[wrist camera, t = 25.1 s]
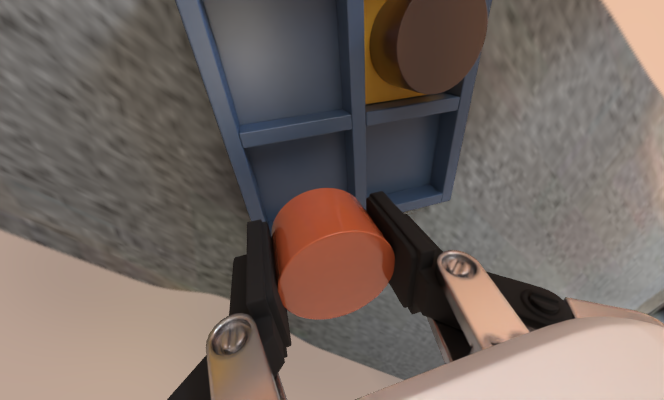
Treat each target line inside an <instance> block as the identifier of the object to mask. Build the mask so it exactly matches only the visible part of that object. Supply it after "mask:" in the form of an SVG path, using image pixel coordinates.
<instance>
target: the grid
mask: <svg viewBox="0 0 664 400" xmlns="http://www.w3.org/2000/svg"><path fill="white" fill-rule="evenodd" d="M386 1H387V0H175V2H176V5H177V7H178V10H179V13H180V16H181V19H182V22H183V25H184V28H185V31H186V34H187V36H188V39H189V42H190V45H191V48H192V51H193V54H194V57H195V60H196V63H197V66H198V68H199V71H200V74H201V77H202V80H203V83H204V86H205V89H206V92H207V95H208V98H209V100H210V103H211V106H212V109H213V112H214V115H215V118H216V121H217V124H218V127H219V130H220V132H221V135H222V138H223V141H224V144H225V147H226V150H227V153H228V156H229V159H230V162H231V164H232V167H233V170H234V173H235V176H236V179H237V182H238V185H239V188H240V191H241V193H242V196H243V199H244V202H245V205H246V208H247V211H248V214H249V217H250V220H251V221H255V220H259V219H261V220H262V222H266V221H267V223H268V227H269V230H270V233H271V231H272V226H273V222H274V220H275V218H276V216H277V214H278V213H279V211H280V210H281V209H282V208H283V206H284V205H285V204H287V203H288V202H289V201H290V200H291V199H293V198H294V197H296V196H298V195H300V194H302V193H304V192H307V191H310V190H313V189H318V188H335V189H340V190H343V191H346V192H348V193H350V194H352V195H353V196H354V197H356V198H357V200H358V201H359V202H360V203H361V205H362V206H363V207H364V209H365V210H366V198H367V197H369V195H370V194H371V193H375V192H379V191H383V192H384V193H385V194H386V195H387V196H388V197H389V198H390V200H391V201H392V202H393V203H394V204H395V205H396V206H397V207H398V208H399V209H400V210H401V211H402V212H406V211H410V210H414V209H418V208H422V207H426V206H430V205H434V204H438V203H441V202H445V201H449V200H450V199H451V194H452V189H453V184H454V180H455V175H456V170H457V165H458V160H459V156H460V151H461V146H462V141H463V137H464V132H465V127H466V122H467V117H468V113H469V108H470V103H471V98H472V93H473V89H474V84H475V79H476V74H477V69H478V65H479V60H480V55H481V52H480V54H479V56H478V58H477V60H476V62H475V64H474V65H473V67H472V68H471V70H470V71H469V72H468V74H467V75H466V76H465V77H464V78H463V79H462V80H461V81H460V82H459V83H458V84H456V85H455V86H454V87H452V88H450V89H449V90H447V91H444V92H442V93H438V94H432V95H428V94H422V93H418V92H415V91H411V90H408V89H404V88H400V87H397V86H393V85H390V84H388V83H387V82H385V81H384V80H383V79H382V78H380V76H379V75H378V74H377V72H376V71H375V69H374V66H373V64H372V61H371V56H370V35H371V30H372V26H373V23H374V20H375V18H376V16H377V14H378V12H379V10H380V9H381V7H382V6H383V5H384V3H385V2H386ZM485 1H486V5H487V15H488V17H489V12H490V7H491V2H492V0H485Z"/></svg>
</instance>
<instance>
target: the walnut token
mask: <svg viewBox="0 0 664 400" xmlns="http://www.w3.org/2000/svg"><path fill="white" fill-rule="evenodd" d="M487 22H488V15H487V5H486V1H485V0H387V1H386V2H385V3H384V5H383V6H382V7H381V9H380V10H379V12H378V14H377V16H376V18H375V20H374V23H373V26H372V30H371V35H370V56H371V61H372V64H373V66H374V69H375V71H376V72H377V74H378V75H379V76H380V78H382V79H383V80H384V81H385V82H387V83H388V84H390V85H393V86H397V87H400V88H404V89H408V90H411V91H415V92H418V93H422V94H428V95H432V94H438V93H442V92H444V91H447V90H449V89H450V88H452V87H454V86H455V85H456V84H458V83H459V82H460V81H461V80H462V79H463V78H464V77H465V76H466V75H467V74H468V72H469V71H470V70H471V68H472V67H473V65H474V64H475V62H476V60H477V58H478V56H479V54H480V52H481V50H482V47H483V44H484V40H485V36H486V31H487Z"/></svg>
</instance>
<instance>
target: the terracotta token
mask: <svg viewBox="0 0 664 400" xmlns="http://www.w3.org/2000/svg"><path fill="white" fill-rule="evenodd" d="M271 237H272V245H273V253H274V262H275V271H276V280H277V289H278V292H279V295H280V298H281V301H282V304H283V306H284V307H285V308H286V309H287V310H288V311H290V312H291V313H293V314H295V315H297V316H299V317H302V318H307V319H316V320H319V319H331V318H336V317H340V316H343V315H346V314H349V313H351V312H354V311H356V310H358V309H360V308H362V307H363V306H365V305H366V304H368V303H369V302H371V301H372V300H373V299H375V298H376V297H377V296H378V295H379V294H380V293H381V292H382V291H383V290H384V288H385V287H386V286H387V284H388V283H389V281H390V280H391V277H392V275H393V272H394V265H395V255H394V251H393V249H392V247H391V245H390V244H389V243H388V241H387V240H386V238H385V237H384V236H383V234H382V233H381V231H380V230H379V228H378V227H377V226H376V224H375V223H374V221H373V220H372V219H371V217H370V216H369V214H368V213H367V212H366V210H365V209H364V207H363V206H362V205H361V203H360V202H359V201H358V200H357V198H356V197H354V196H353V195H352V194H350V193H348V192H346V191H343V190H340V189H335V188H318V189H313V190H310V191H307V192H304V193H302V194H300V195H298V196H296V197H294V198H293V199H291V200H290V201H289V202H288V203H287V204H285V205H284V206H283V208H282V209H281V210H280V211H279V213H278V214H277V216H276V218H275V220H274V222H273V226H272V231H271Z"/></svg>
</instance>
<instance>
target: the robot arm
mask: <svg viewBox="0 0 664 400" xmlns="http://www.w3.org/2000/svg"><path fill="white" fill-rule="evenodd" d="M366 212H367V213H368V214H369V216H370V217H371V219H372V220H373V221H374V223H375V224H376V226H377V227H378V228H379V230H380V231H381V233H382V234H383V236H384V237H385V238H386V240H387V241H388V243H389V244H390V245H391V247H392V249H393V251H394V255H395V265H394V272H393V275H392V277H391V280H390V281H389V284H390V285H391V287H392V289H393V290H394V292H395V294H396V295H397V297H398V299H399V301H400V302H401V304H402V305H403V307H405V308H406V307H408V309H409V310H410V312H411V313H412V314H415V313H418V312H421V313H422V315H424V316H427V319H428V322H429V324H430V327H431V329H432V332H433V334H434V337H435V339H436V342H437V344H438V347H439V349H440V352H441V355H442V357H443V360H444V362H445V365H442V366H440V367H437V368H435V369H432V370H430V371H427V372H424V373H422V374H419V375H417V376H414V377H412V378H409V379H406V380H404V381H401V382H399V383H396V384H394V385H391V386H389V387H386V388H383V389H381V390H378V391H376V392H373V393H371V394H368V395H366V396H363V397H361V398H358V399H355V400H664V324H663V323H662V322H660V321H659V320H657V319H655V318H653V317H651V316H649V315H647V314H644V313H641V312H638V311H634V310H629V309H624V308H618V307H613V306H608V305H603V304H598V303H593V302H588V301H583V300H577V299H572V298H567V297H565V299H564V300H562V299H561V298H560V297H559V296H557V295H556V294H554V293H552V292H550V291H549V290H546V289H543V288H541V287H538V286H534V285H531V284H527V283H524V282H520V281H517V280H513V279H510V278H506V277H503V276H499V275H496V274H492V273H489V272H486V271H485V270H484V268H483V267H482V266H481V264H480V263H479V262H478V261H477V260H476V259H475V258H474V257H472V256H471V255H469V254H467V253H464V252H461V251H457V250H449V251H445V252H442V250H441V249H440V248H439V247H438V246H437V245H436V244H435V243H434V242H433V241H432V240H431V239H430V238H429V237H428V236H427V235H426V234H425V232H424V231H423V230H422V229H421V228H420V227H419V226H418V225H417V224H416V223H415V222H414V221H413V220H412V219H411V218H410V217H409V216H408V215H407V214H403V213H402V211H401V210H400V209H399V208H398V207H397V206H396V205H395V204H394V203H393V202H392V201H391V200H390V198H389V197H388V196H387V195H386V194H385V193H384V192H383V191H379V192H375V193H371V194H370V195H369V197H367V198H366ZM289 346H291V338H290V330H289V323H288V316H287V309H286V308H285V307H284V306H283V304H282V301H281V298H280V295H279V292H278V289H277V280H276V271H275V262H274V253H273V245H272V237H271V233H270V230H269V227H268V223H267V221H266V222H262V220H261V219H259V220H255V221H251V222H248V223H247V255H243V256H239V257H235V258H234V262H233V274H232V286H231V299H230V311H229V316H227V317H226V318H224V319H223V320H221V321H220V322H219V323H218V324H217V325H216V326H215V327H214V328H213V330H212V331H211V332H210V334H209V336H208V339H207V344H206V354H207V355H206V356H205V357H204V359H203V360H202V361H201V362H200V363H199V364H198V365H197V366H196V368H195V369H194V370H193V371H192V372H191V373H190V374H189V375H188V377H187V378H186V379H185V380H184V381H183V382H182V383H181V385H180V386H179V387H178V388H177V389H176V390H175V391H174V392H173V394H172V395H171V396H170V397H169V398H168V399H167V400H287V398H286V395H285V392H284V389H283V386H282V383H281V380H280V377H279V373H278V372H279V370H280V369H281V367H282V366H283V364H284V363H285V361H284V358H285V357H287V349H286V347H289Z"/></svg>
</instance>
